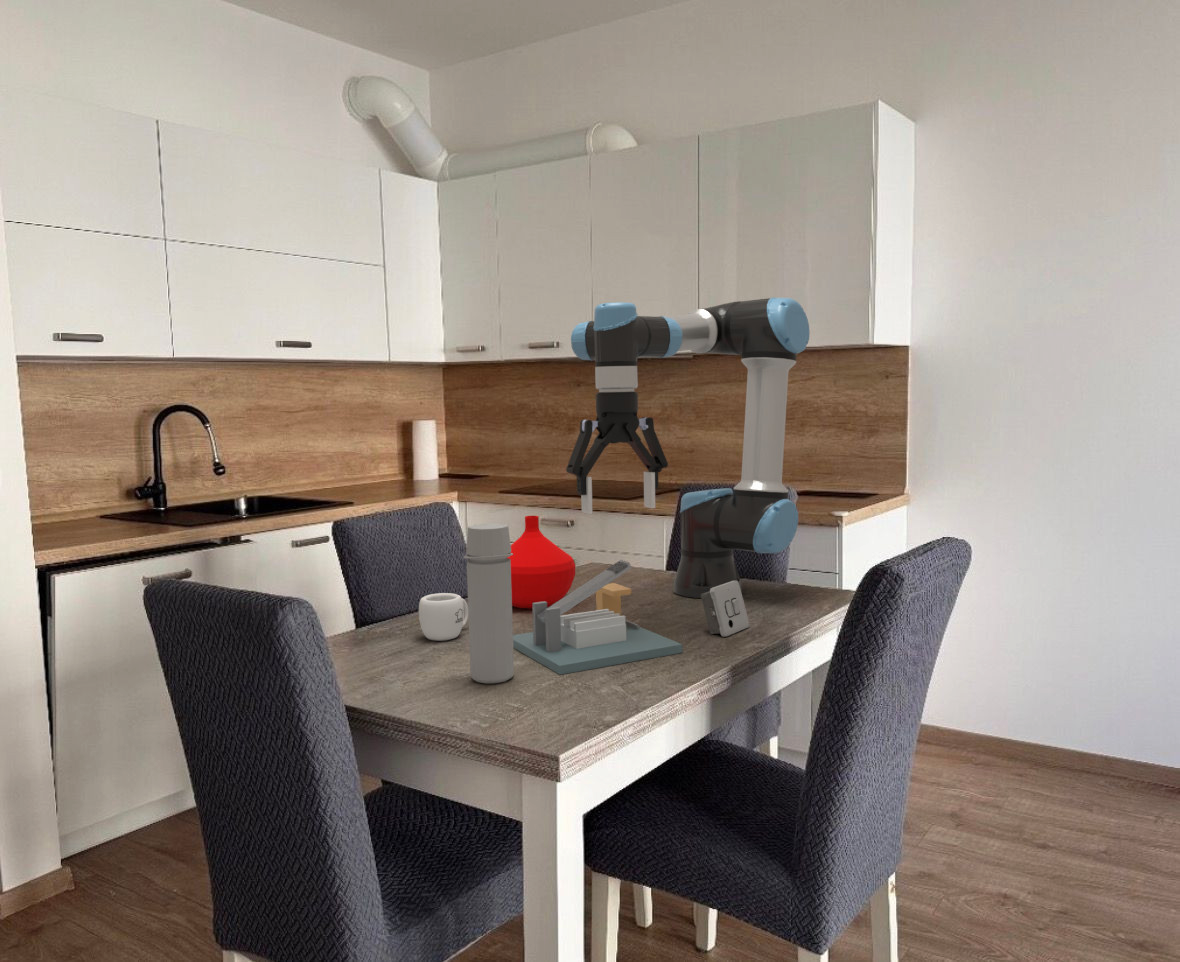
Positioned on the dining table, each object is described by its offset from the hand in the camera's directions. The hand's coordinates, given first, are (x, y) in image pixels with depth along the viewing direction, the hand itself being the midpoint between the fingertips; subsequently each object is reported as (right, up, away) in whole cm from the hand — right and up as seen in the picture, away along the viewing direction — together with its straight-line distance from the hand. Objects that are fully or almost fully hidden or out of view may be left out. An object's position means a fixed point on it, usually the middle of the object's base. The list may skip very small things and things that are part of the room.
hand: (618, 510), depth 173 cm
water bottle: (-21, -27, -16) cm, 38 cm away
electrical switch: (+21, -23, +9) cm, 32 cm away
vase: (-17, -22, +35) cm, 45 cm away
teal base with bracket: (-5, -25, -1) cm, 25 cm away
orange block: (-1, -22, +8) cm, 24 cm away
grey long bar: (-6, -15, -2) cm, 16 cm away
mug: (-32, -24, +11) cm, 42 cm away
